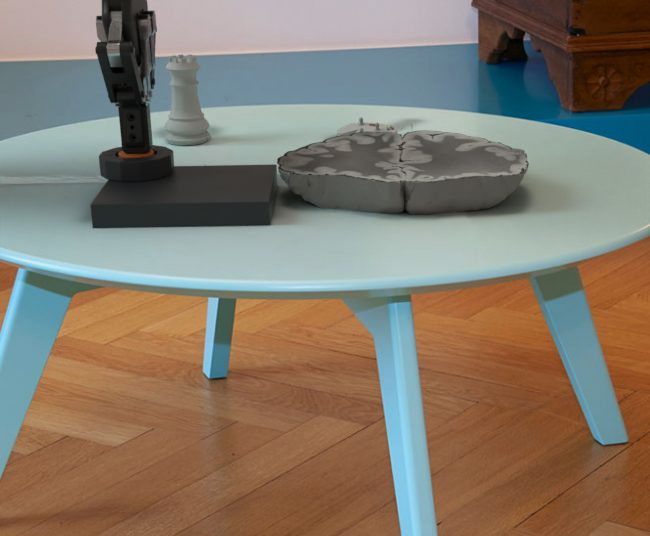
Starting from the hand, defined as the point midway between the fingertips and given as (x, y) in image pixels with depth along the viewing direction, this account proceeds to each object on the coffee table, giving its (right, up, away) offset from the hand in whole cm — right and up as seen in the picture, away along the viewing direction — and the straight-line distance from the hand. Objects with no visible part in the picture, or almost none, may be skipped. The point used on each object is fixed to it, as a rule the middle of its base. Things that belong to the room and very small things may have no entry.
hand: (137, 151), depth 90 cm
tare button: (0, -1, +1) cm, 2 cm away
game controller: (+21, +3, +17) cm, 27 cm away
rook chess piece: (+2, +4, +19) cm, 20 cm away
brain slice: (+21, -3, +1) cm, 21 cm away
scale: (+4, -5, -2) cm, 7 cm away
